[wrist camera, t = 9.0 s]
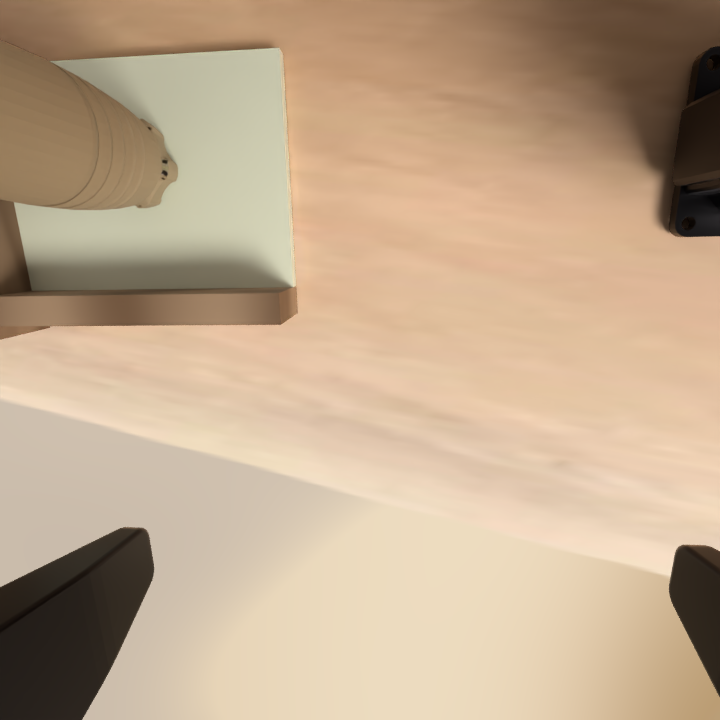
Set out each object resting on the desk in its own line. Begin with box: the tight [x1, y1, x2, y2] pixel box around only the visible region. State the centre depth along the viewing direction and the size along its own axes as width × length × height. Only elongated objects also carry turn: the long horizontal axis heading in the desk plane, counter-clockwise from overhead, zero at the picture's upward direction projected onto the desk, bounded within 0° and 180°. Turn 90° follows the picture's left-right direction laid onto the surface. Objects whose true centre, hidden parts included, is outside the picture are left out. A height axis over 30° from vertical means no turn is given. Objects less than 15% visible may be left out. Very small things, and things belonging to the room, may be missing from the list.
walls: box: [0, 199, 298, 339], centre depth 18 cm, size 13×11×3 cm
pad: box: [14, 48, 296, 291], centre depth 19 cm, size 12×9×1 cm
